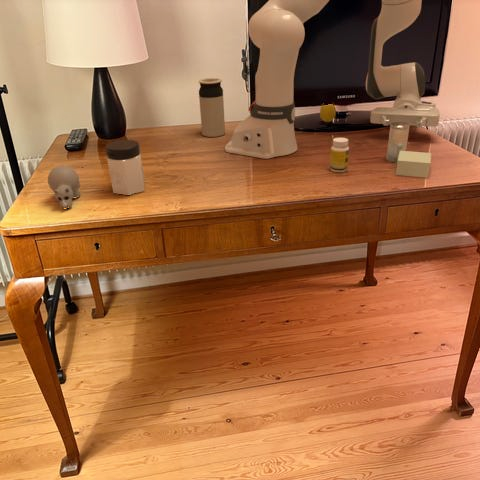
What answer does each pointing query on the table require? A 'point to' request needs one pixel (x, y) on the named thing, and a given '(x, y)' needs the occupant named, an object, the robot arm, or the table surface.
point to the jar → (125, 167)
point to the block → (413, 164)
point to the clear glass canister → (397, 140)
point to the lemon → (327, 112)
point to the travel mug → (211, 107)
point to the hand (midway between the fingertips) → (402, 123)
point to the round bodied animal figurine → (64, 184)
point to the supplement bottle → (339, 155)
